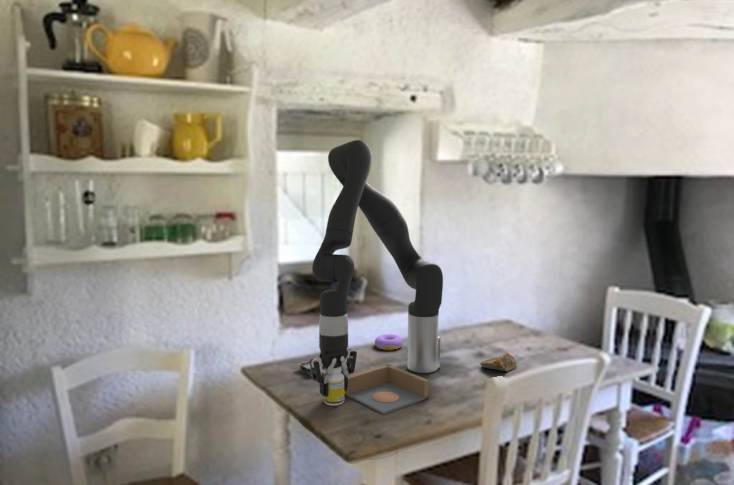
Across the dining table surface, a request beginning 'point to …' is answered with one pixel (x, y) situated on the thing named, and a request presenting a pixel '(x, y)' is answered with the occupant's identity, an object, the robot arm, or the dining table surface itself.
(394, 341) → the donut
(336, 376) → the supplement bottle
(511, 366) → the decorative stone
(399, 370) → the corner arena
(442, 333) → the dining table surface
